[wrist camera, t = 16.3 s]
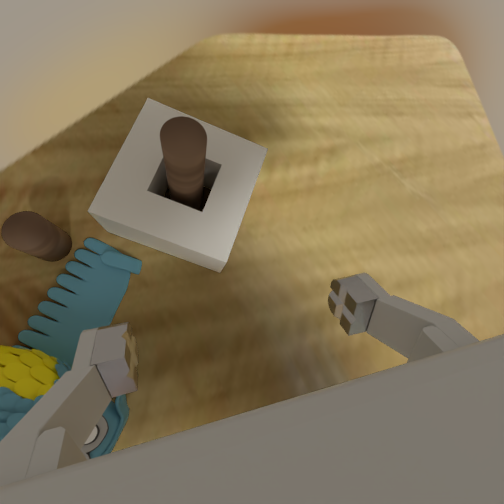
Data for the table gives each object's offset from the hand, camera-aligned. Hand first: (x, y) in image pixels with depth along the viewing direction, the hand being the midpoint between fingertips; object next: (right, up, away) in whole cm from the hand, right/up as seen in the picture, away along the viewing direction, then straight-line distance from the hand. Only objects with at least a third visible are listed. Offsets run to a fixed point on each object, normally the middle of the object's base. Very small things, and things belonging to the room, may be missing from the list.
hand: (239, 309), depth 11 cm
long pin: (-7, +8, +20) cm, 22 cm away
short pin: (-19, +3, +16) cm, 25 cm away
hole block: (-7, +8, +20) cm, 22 cm away
